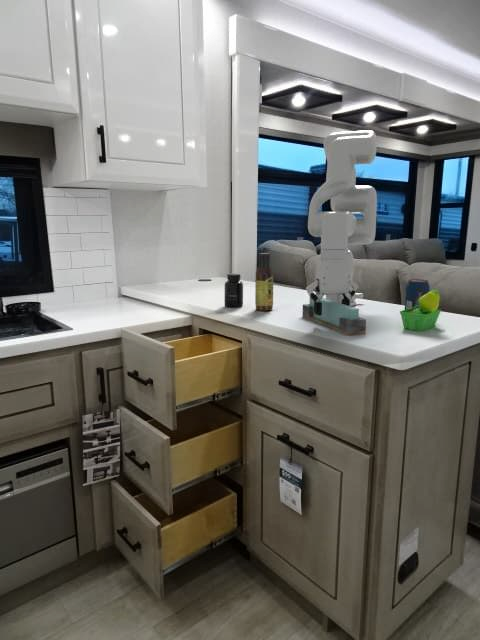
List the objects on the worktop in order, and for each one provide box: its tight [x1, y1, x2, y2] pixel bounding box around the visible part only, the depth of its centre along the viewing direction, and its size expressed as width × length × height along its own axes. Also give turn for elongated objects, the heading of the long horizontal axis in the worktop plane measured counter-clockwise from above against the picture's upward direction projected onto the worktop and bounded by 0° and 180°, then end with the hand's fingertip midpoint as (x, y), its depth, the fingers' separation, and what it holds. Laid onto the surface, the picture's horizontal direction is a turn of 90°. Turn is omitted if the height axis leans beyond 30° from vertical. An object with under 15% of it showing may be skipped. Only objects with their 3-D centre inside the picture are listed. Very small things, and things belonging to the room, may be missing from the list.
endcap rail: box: [302, 303, 367, 336], centre depth 134 cm, size 6×27×4 cm, turn 19°
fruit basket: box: [399, 289, 442, 332], centre depth 128 cm, size 11×9×11 cm
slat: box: [309, 296, 360, 326], centre depth 134 cm, size 24×2×6 cm, turn 19°
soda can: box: [404, 278, 431, 310], centre depth 142 cm, size 7×7×12 cm
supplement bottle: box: [224, 273, 244, 309], centre depth 164 cm, size 7×7×12 cm
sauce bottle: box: [254, 252, 274, 312], centre depth 156 cm, size 7×6×20 cm
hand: (331, 313), depth 134 cm, fingers open, 8 cm apart
